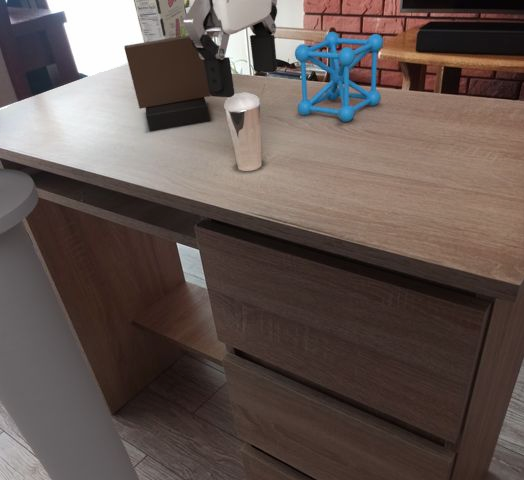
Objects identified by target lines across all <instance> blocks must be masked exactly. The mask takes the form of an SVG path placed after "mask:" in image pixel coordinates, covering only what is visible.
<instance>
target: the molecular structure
mask: <svg viewBox="0 0 524 480" xmlns="http://www.w3.org/2000/svg"><path fill="white" fill-rule="evenodd" d="M383 44H384V40H383V37H382V35H380V34H379V33H374V34H372V35H370V36H369V37H368V38H367V39H359V38H358V39H357V38H343V37H339V34H338V33H337V32H335V31H330V32H328V33H326V35H325V37H324V39H323V41H321V42H319V43H316V44H314V45H312V46H309V45H307V44H305V43H301V44H299V45H298V46H296V48H295V50H294V57H295V59H296V60H297V62H299V63H300V76H301V77H300V78H301V79H300V80H301V97H302V100H301V101H299V103H298V105H297V111H298V114H300V115H301V116H304V117H305V116H308V115H310V114H311V113H312V112H314V113H323V114H327V115H335V116H338V118H339V120H340V121H341V122H343V123H349V122H351V121H352V120H353V119H354V117H355V112H357V111H358V110H360V109H362V108H364V107H365V106H367V105H368V106H370V107H376V106H377V105H378V104H379V103H380V101H381V98H382V97H381V96H382V95H381V93H380V92H379V90H377V69H378V67H377V66H378V52H379V51H380V50H382V48H383ZM339 45H353V46H354V45H355V46H356V45H357V46H360V47H358V48H355V49H353V48H351V47H349V46H346V47H343V48H342V49H340V50H339V52H337V47H338V46H339ZM324 47H326V48H327V49H329V51H318V50H320V49H322V48H324ZM370 52H371V54H372V55H371V77H370V90H369V91H368V90H366V89H365V88H363V87H361V86H360V85H359V84H357V83H355V82H354V81H352V80H350V70H352V69H353V68H354V67H355V66H356V65H357V64H358V63H359V62H361V60H362V59H363V58H364V57H366V56H367V55H368V54H369V53H370ZM318 58H319V59H321V58H323V59H329V65H327V64H325V63H324V62H322V61H321V60H319V59H318ZM307 61H309V62H310V63H312V64H314V65H315V66H317V68H320V69H322V70H323V71H325V72H326V73H328V74H329V82H327V83H326V84H325V85H324V86H323V87H322V88H321V89H320V90H319V91H317V93H315V95H314V96H312V97H311V98H310V99H308V89H307V88H308V87H307V65H306V62H307ZM350 88H351V89H353V90H355V91H356V92H358V93H356V92H350ZM338 98H340V101H341V107H340V108H339V109H337V108H329V107H323V106H317V105H318V104H320V103H322V102H323V101H325V100H328V101H330V102H331V101H332V102H333V101H336V100H337V99H338ZM350 99H358V100H362V101H361V102H359V103H357V104H356V105H353V106H351V105H350Z"/></svg>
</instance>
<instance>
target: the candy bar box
mask: <svg viewBox="0 0 524 480" xmlns="http://www.w3.org/2000/svg"><path fill="white" fill-rule="evenodd" d="M185 2H186V1H185V0H133V4H134V7H135V11H136V14H137V19H138V23H139V28H140V33H141V37H142V41H143V43H144V42H150V41H157V40H163V39H169V38H175V37H181V36H187V35H189V34H188V32H187V31H186V29H185V27H184V23H183V22H184V18H185V16H186V15H187V13H188V12H187V9H186V3H185Z"/></svg>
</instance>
